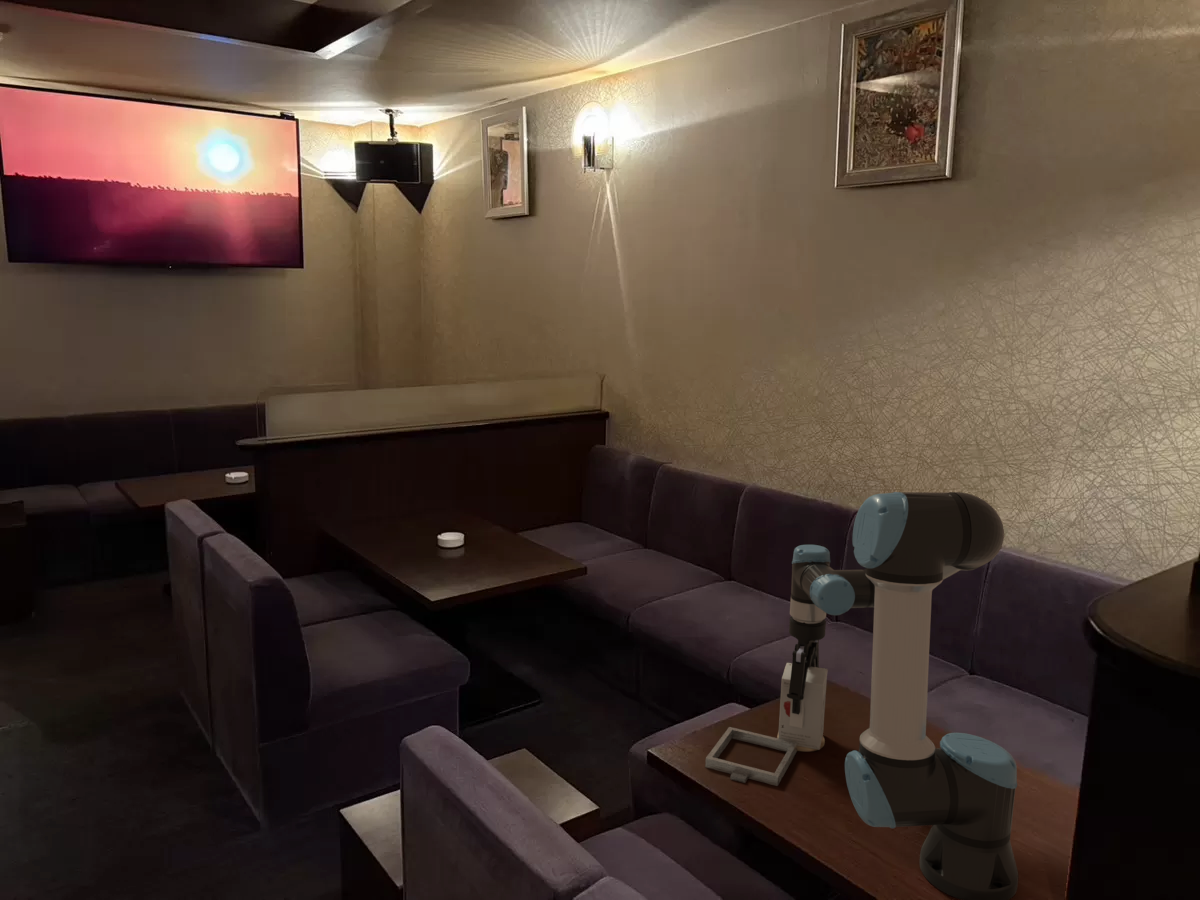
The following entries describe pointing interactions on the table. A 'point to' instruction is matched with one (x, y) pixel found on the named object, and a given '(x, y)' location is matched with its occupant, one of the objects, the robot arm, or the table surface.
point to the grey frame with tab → (746, 772)
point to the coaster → (809, 748)
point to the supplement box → (812, 709)
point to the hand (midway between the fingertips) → (802, 715)
